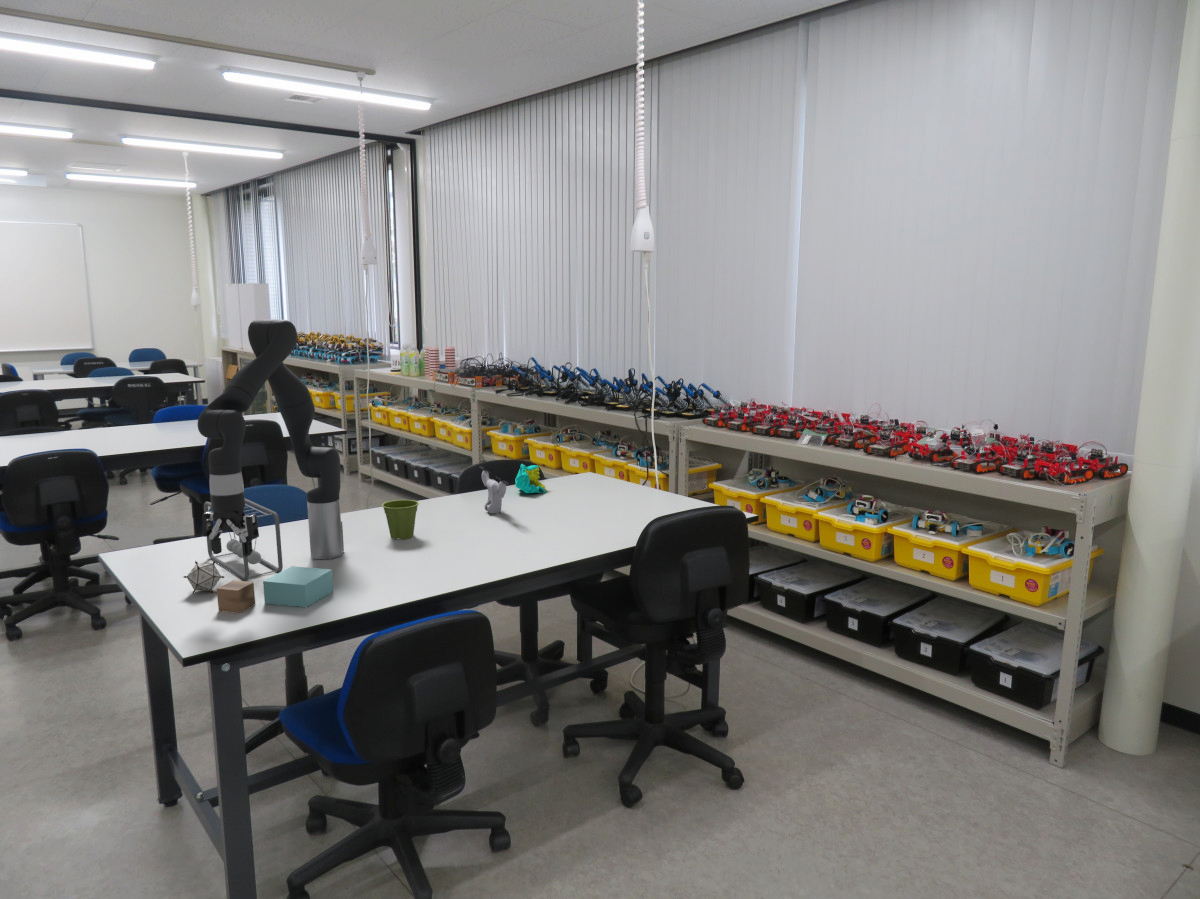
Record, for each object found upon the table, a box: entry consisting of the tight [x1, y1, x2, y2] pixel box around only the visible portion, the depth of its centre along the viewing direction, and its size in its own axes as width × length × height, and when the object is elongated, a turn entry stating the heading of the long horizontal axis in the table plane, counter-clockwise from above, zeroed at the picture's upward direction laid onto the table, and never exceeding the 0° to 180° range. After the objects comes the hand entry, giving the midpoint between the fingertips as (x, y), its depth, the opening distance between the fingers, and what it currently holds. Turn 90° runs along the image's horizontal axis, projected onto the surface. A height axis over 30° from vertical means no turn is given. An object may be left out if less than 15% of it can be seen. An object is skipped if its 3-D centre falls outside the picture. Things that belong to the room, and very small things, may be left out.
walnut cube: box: [216, 580, 256, 614], centre depth 199 cm, size 6×6×6 cm
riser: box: [262, 565, 334, 608], centre depth 206 cm, size 12×12×6 cm
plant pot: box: [381, 499, 420, 541], centre depth 259 cm, size 12×12×11 cm
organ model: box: [514, 463, 548, 494], centre depth 321 cm, size 15×12×13 cm
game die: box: [183, 560, 225, 594], centre depth 210 cm, size 9×8×10 cm
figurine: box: [478, 465, 510, 515], centre depth 289 cm, size 35×6×15 cm, turn 25°
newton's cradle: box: [203, 498, 284, 581], centre depth 230 cm, size 30×10×18 cm, turn 44°
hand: (232, 554), depth 197 cm, fingers open, 8 cm apart
